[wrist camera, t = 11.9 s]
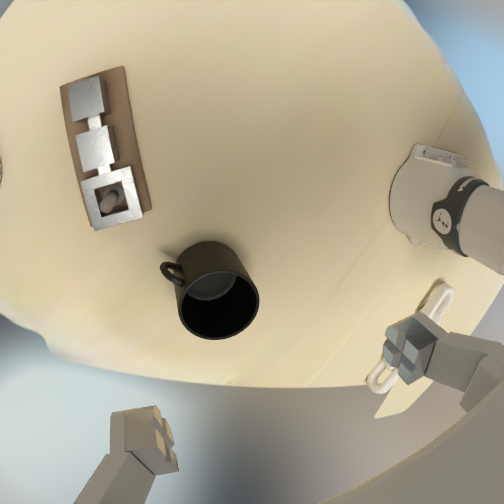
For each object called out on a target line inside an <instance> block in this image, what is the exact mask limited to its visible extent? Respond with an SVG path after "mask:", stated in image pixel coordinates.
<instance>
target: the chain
mask: <svg viewBox="0 0 504 504" xmlns="http://www.w3.org/2000/svg"><path fill="white" fill-rule="evenodd" d="M454 295H455V291H454V289H453V288H452V287H451V286H450V285H449V284H447V283H442V284H440V285H439V286H438V287H437V288H436V289H435V291H434V292H433V294H432V295H431V297H430V298H429V300H428V301H427V303H426V304H425V306H424V307H422V308H420V309H419V310H418V312H422V313H424V314H425V315H426V316H428V317H429V318H430V319H431V320H433V321H434V322H435V323H436V324H437V325H439V326H440V322H441V318H442V317H443V315H444V314H445V312H446V311H447V309H448V308H449V306H450V305H451V303H452V301H453V299H454ZM386 367H387V368H388V369H389V370H390V371H392V373H391V374H390V375H389V376H388V378H387V379H386V380H385V381H384V382H383V383H382V384H381V385H378V383H377V380H378V377H379V375H380V374H381V373H382V372H383V371H384V369H385V368H386ZM399 378H400V376H399V375H398V371H397V368H394V367H391V366H390V365H389V364H388V363H387V362H386V360H385V358H384V356H383V358H382V359H381V360H380V361H379V363H378V364H377V365H376V366H375V367H374V368H373V370H372V371H371V372H370V373H369V375H368V378H367V383H368V386H369V388H370V389H371V390H372V391H373V392H375V393H379V394H382V393H385V392H387V391H388V390H389V389H390V388H391V387H392V386H393V384H394V383H395V382H396V381H397V380H398V379H399Z"/></svg>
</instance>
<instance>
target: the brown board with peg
mask: <svg viewBox="0 0 504 504" xmlns="http://www.w3.org/2000/svg"><path fill="white" fill-rule="evenodd" d="M97 76H100V77H101V78H102V79H103V80H104V81H105V82H106V83H107V90H108V97H109V103H110V109H111V114H110V115H106V116H103V122H104V126H106V125H108V126H114V131H115V136H116V141H117V146H118V150H119V155H120V159H119V160H118V161H116V162H115V163H112V166H113V169H117V168H120V167H124V166H127V165H131V164H132V165H133V170H134V174H135V178H136V182H137V187H138V191H139V195H140V199H141V203H142V207H143V210H144V212H146V211H150V210H151V209H152V206H151V202H150V198H149V194H148V190H147V185H146V181H145V177H144V172H143V168H142V163H141V159H140V154H139V149H138V145H137V140H136V135H135V129H134V124H133V119H132V113H131V107H130V102H129V96H128V89H127V83H126V76H125V69H124V67H123V66H120V67H116V68H113V69H109V70H106V71H103V72H99V73H96V74H93V75H90V76H87V77H84V78H81V79H79V80H76V81H73V82H70V83H68V84H65V85H62V86H60V94H61V101H62V107H63V114H64V120H65V125H66V131H67V136H68V141H69V146H70V150H71V155H72V159H73V164H74V168H75V172H76V176H77V180H78V184H79V188H80V191H81V195H82V199H83V202H84V206H85V209H86V212H87V216H88V219H89V222H90V225H91V227H93V224H92V221H91V218H90V214H89V211H88V207H87V204H86V200H85V197H84V193H83V190H82V186H81V181H82V180H83V179H85V178H88V177H91V176H94V175H97V174H99V172H98V168H95V169H92V170H89V171H86V172H83V168H82V164H81V159H80V155H79V150H78V145H77V141H76V135H79V134H82V133H85V132H88V131H90V130H89V125H88V122H85V123H79V122H73V120H72V114H71V108H70V101H69V94H68V86H71V85H73V84H76V83H79V82H82V81H85V80H87V79H90V78H93V77H97ZM99 192H100V196H101V199H102V201H101V203H100V210H101V211H102V212H104V213H109V212H110V211H111V210H114V209H118V208H121V207H125V206H128V204H127V200H126V196H125V192H124V188H123V184H122V181H119V182H116V183H113V184H109V185H106V186H103V187H99Z"/></svg>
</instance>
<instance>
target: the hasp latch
mask: <svg viewBox="0 0 504 504" xmlns="http://www.w3.org/2000/svg"><path fill="white" fill-rule="evenodd" d="M68 94H69V101H70V108H71V114H72V120H73V122H79V123H85V122H88V125H89V130H90V131H88V132H85V133H82V134H79V135H76V141H77V145H78V150H79V155H80V159H81V164H82V168H83V172H86V171H89V170H92V169H95V168H98V172H99V174H97V175H94V176H91V177H88V178H85V179H83V180H82V181H81V186H82V190H83V193H84V197H85V200H86V204H87V207H88V211H89V214H90V218H91V221H92V224H93V227H94V230H95V231H98V230H101V229H104V228H108V227H111V226H115V225H118V224H122V223H125V222H129V221H132V220H136V219H140V218H143V214H144V210H143V207H142V203H141V199H140V195H139V191H138V187H137V182H136V178H135V174H134V170H133V165H132V164H131V165H127V166H124V167H120V168H117V169H113V166H112V163H115V162H116V161H118V160H119V159H120V155H119V150H118V146H117V141H116V136H115V131H114V126H108V125H106V126H104V122H103V116H106V115H110V114H111V109H110V103H109V97H108V90H107V83H106V82H105V81H104V80H103V79H102V78H101V77H100V76H97V77H93V78H90V79H87V80H85V81H82V82H79V83H76V84H73V85H71V86H68ZM119 181H122V184H123V188H124V192H125V196H126V200H127V204H128V206H125V207H121V208H118V209H114V210H111V211H110V212H109V213H104V212H102V211H101V210H100V203H101V201H102V199H101V196H100V192H99V187H103V186H106V185H109V184H113V183H116V182H119Z"/></svg>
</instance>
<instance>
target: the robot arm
mask: <svg viewBox="0 0 504 504" xmlns="http://www.w3.org/2000/svg"><path fill="white" fill-rule="evenodd" d="M390 212H391V217H392V220H393V222H394V224H395V226H396V227H397V228H398V229H399V230H400V231H401V232H403V233H405V234H406V235H407V236H408V238H409V240H410V242H411V243H412V244H414V245H419V244H421V243H424V244H426V245H429V246H431V247H434V248H436V249H438V250H441V251H445V250H447V249H450V250H452V251H453V252H454V253H456V254H458V255H462V256H464V257H471V258H473V259H474V260H476V261H478V262H480V263H481V264H483V265H485V266H487V267H488V268H490V269H492V270H493V271H495V272H497V273H498V274H501V275H504V191H502V190H499V189H496V188H493V187H490V186H489V185H488V184H487V183H486V182H484V181H483V180H481V179H479V178H478V176H477V173H476V171H475V170H473V169H470V168H467V167H465V158H463V157H462V156H461V155H459V154H456V153H453V152H449V151H445V150H442V149H438V148H434V147H430V146H426V145H422V144H415V145H414V147H413V149H412V151H411V154H410V157H409V158H408V160H407V161H406V162H405V163H404V165H403V166H402V167H401V168H400V170H399V171H398V173H397V175H396V177H395V179H394V182H393V185H392V189H391V194H390ZM385 336H386V337H387V340H386V341H385V343H384V344H383V355H384V358H385V360H386V362H387V363H388V364H389V365H390V366H391V367H394V368H397V371H398V375H399V376H400V377H401V378H402V379H403V381H404V382H405V383H406V384H407V385H409V384H411V383H413V382H414V381H416V380H418V379H419V378H421V377H423V376H424V375H425V377H427V378H430V379H432V380H435V381H437V382H440V383H442V384H445V385H447V386H450V387H452V388H455V389H458V390H460V391H463V392H464V394H463V396H462V398H461V400H460V405H461V406H462V408H463V409H465V411H466V412H467V413H466V414H465V415H464V416H463V417H462V418H460V419H459V420H458V421H457V422H455V423H454V424H453V425H452V426H450V427H449V428H448V429H447V430H445V431H444V432H443V433H441V434H440V435H439V436H437V437H436V438H435V439H433V440H432V441H430V442H429V443H428V444H426V445H425V446H423V447H422V448H420V449H419V450H417V451H416V452H415V453H413V454H411V455H410V456H408V457H407V458H405V459H404V460H402V461H400V462H399V463H397V464H395V465H394V466H392V467H390V468H389V469H387V470H385V471H384V472H382V473H380V474H378V475H376V476H375V477H373V478H371V479H369V480H367V481H365V482H363V483H361V484H359V485H357V486H355V487H353V488H351V489H349V490H347V491H345V492H343V493H340V494H338V495H336V496H334V497H331V498H329V499H327V500H324V501H322V502H320V503H317V504H504V346H503V345H502V344H501V343H499V342H495V341H490V340H485V339H481V338H476V337H472V336H467V335H463V334H458V333H454V332H449V333H447V332H446V331H445V330H444V329H442V328H441V327H440V326H439V325H437V324H436V323H435V322H434V321H433V320H431V319H430V318H429V317H428V316H426V315H425V314H424V313H422V312H417V313H415V314H413V315H411V316H409V317H406V318H404V319H403V320H401V321H399V322H397V323H395V324H393V325H391V326H389V327H388V328H387V329H386V332H385ZM110 421H111V422H110V454H106V455H105V457H104V458H103V460H102V461H101V463H100V464H99V466H98V467H97V469H96V470H95V472H94V473H93V475H92V476H91V478H90V479H89V481H88V482H87V484H86V485H85V487H84V488H83V490H82V492H81V493H80V494H79V496H78V497H77V499H76V500H75V502H74V504H144V503H145V500H146V498H147V496H148V493H149V491H150V489H151V486H152V484H153V481H154V479H155V475H161V474H166V473H172V472H177V471H179V469H178V463H177V457H176V454H175V453H174V451H173V450H172V449H171V448H172V447H173V445H174V440H173V435H172V432H171V429H170V426H169V424H168V422H167V421H166V419H164V418H162V417H161V413H160V410H159V409H158V407H157V406H149V407H143V408H138V409H131V410H124V411H117V412H112V415H111V419H110Z"/></svg>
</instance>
